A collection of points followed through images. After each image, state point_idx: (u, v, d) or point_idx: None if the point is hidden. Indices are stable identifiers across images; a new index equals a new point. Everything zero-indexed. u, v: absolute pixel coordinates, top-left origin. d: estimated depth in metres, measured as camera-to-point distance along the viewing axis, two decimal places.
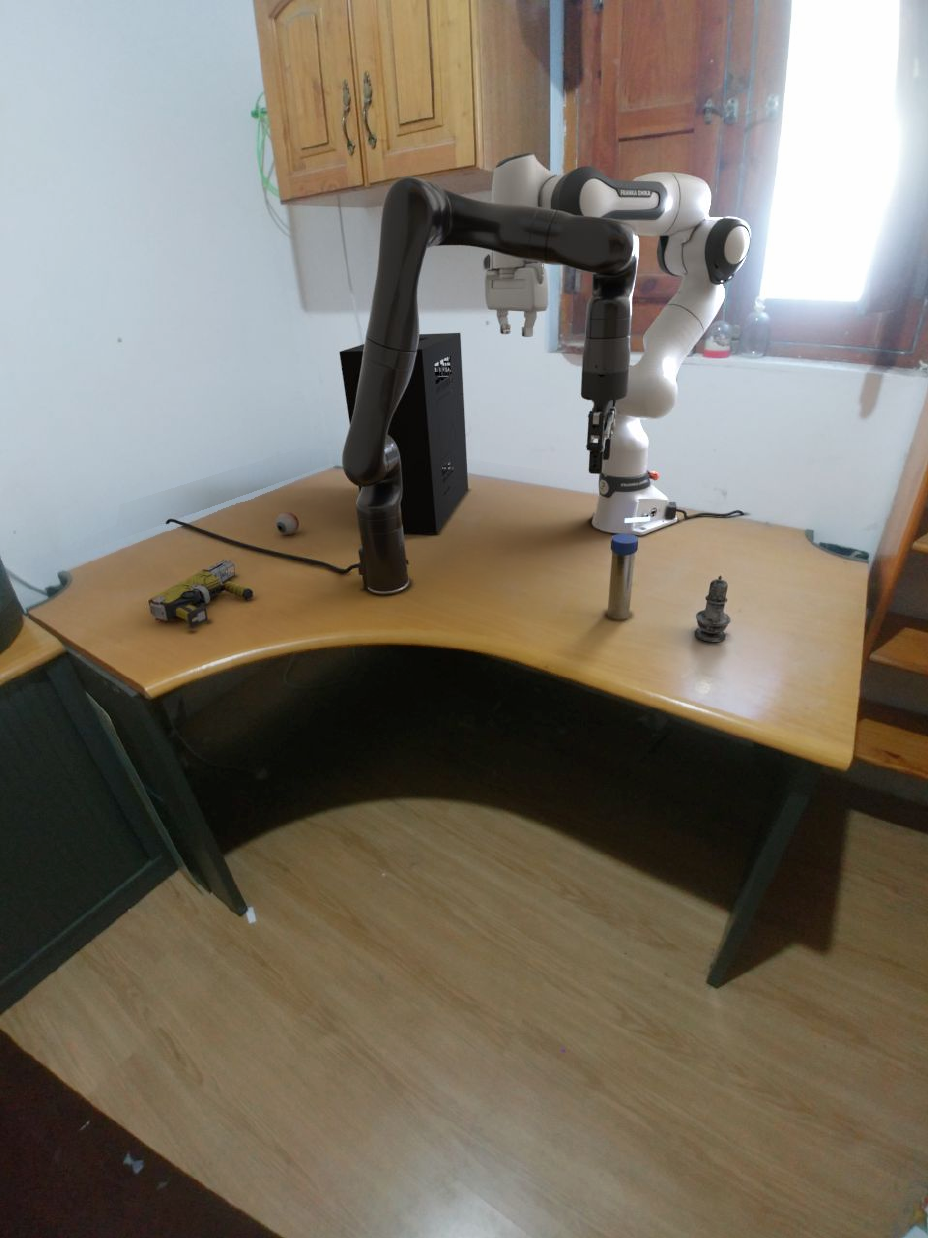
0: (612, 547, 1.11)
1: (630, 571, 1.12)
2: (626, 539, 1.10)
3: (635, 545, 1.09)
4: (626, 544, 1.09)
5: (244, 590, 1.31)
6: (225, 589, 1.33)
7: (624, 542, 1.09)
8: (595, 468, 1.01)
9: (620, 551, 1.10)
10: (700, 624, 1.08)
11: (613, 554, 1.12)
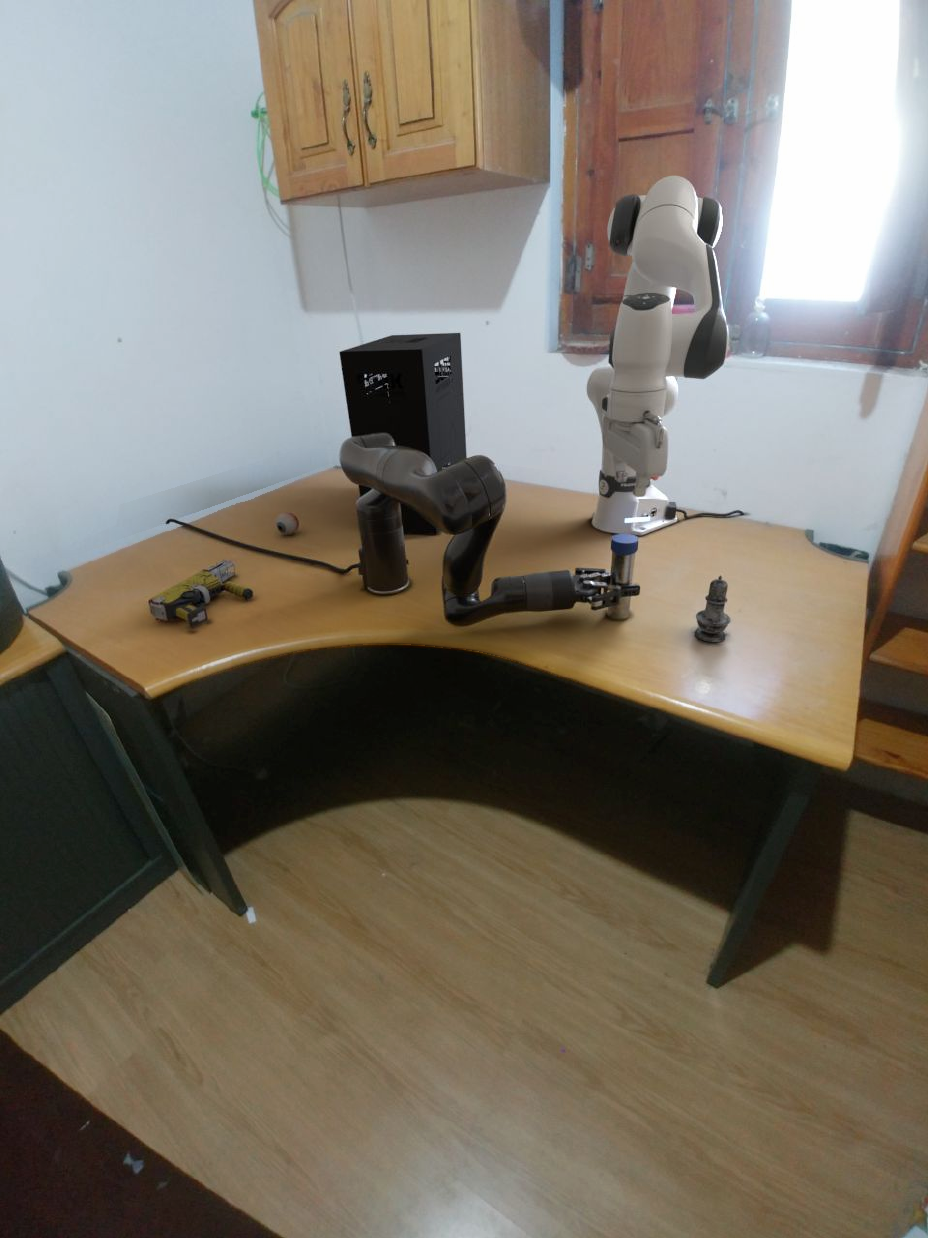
0: (612, 547, 1.11)
1: (630, 571, 1.12)
2: (626, 539, 1.10)
3: (635, 545, 1.09)
4: (626, 544, 1.09)
5: (244, 590, 1.31)
6: (225, 589, 1.33)
7: (624, 542, 1.09)
8: None
9: (620, 551, 1.10)
10: (700, 624, 1.08)
11: (613, 554, 1.12)
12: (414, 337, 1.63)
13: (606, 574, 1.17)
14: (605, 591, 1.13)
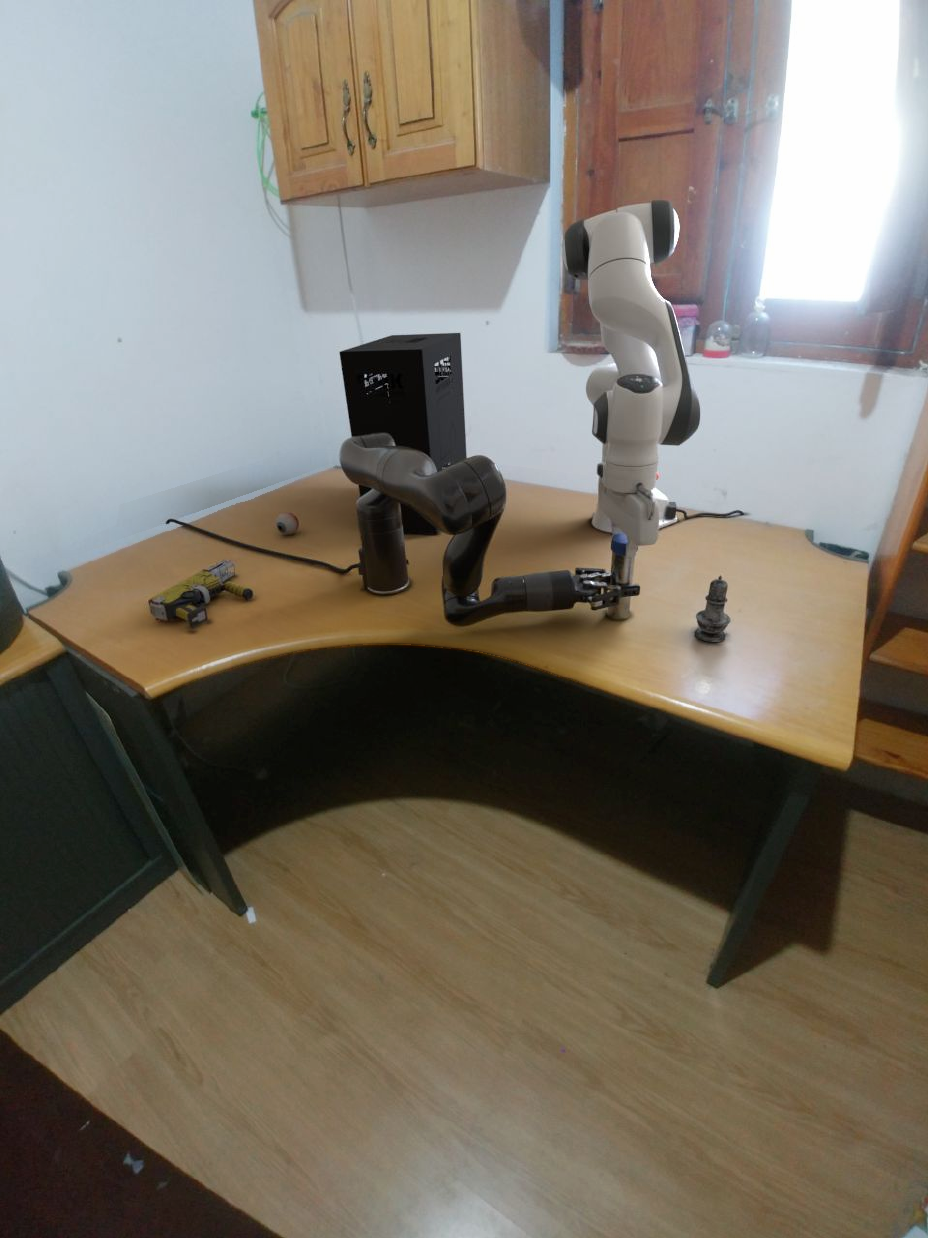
0: (612, 547, 1.11)
1: (630, 571, 1.12)
2: (626, 539, 1.10)
3: None
4: (626, 544, 1.09)
5: (244, 590, 1.31)
6: (225, 589, 1.33)
7: (624, 542, 1.09)
8: None
9: (620, 551, 1.10)
10: (700, 624, 1.08)
11: (613, 554, 1.12)
12: (414, 337, 1.63)
13: (606, 574, 1.17)
14: (605, 591, 1.13)
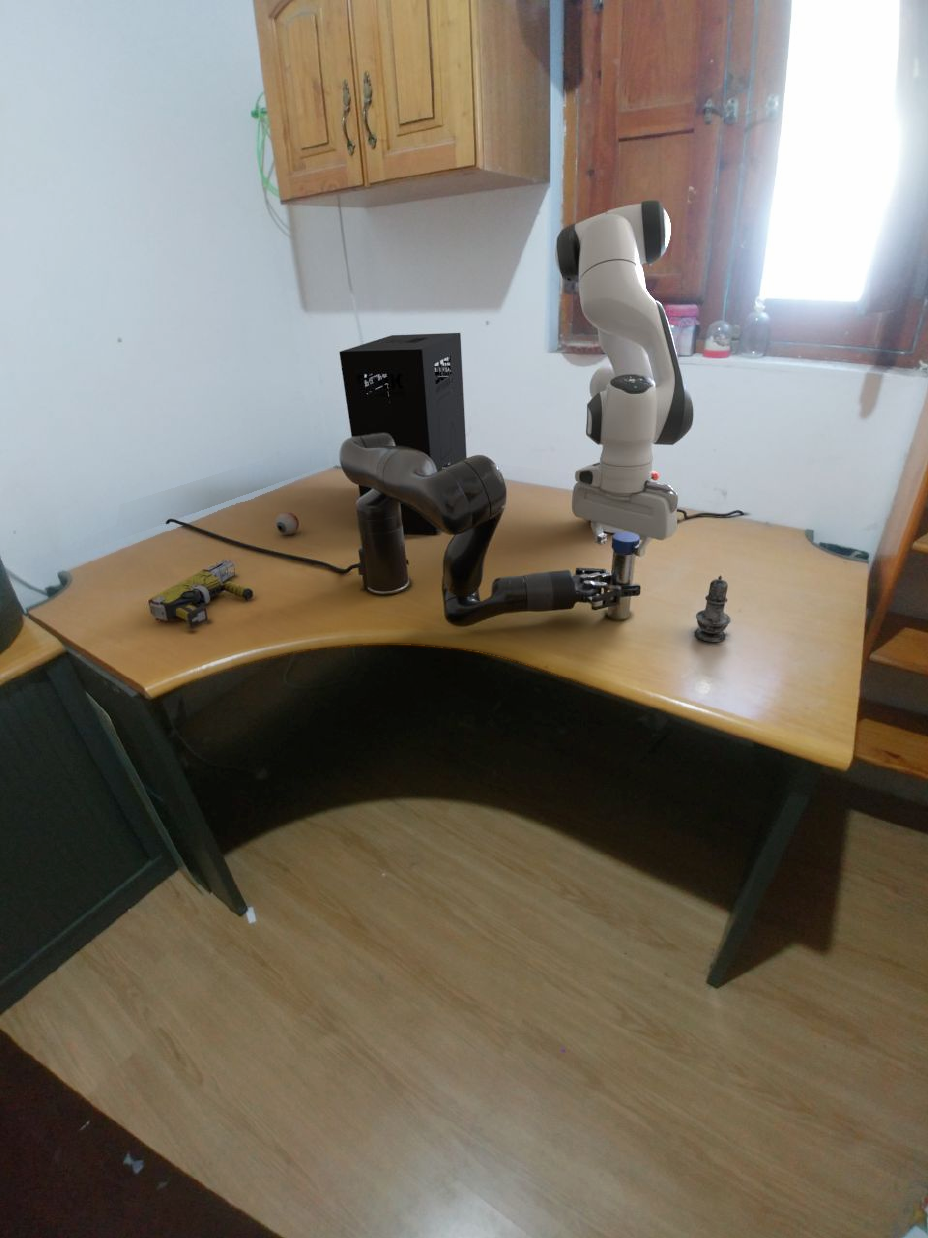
0: (630, 549, 1.09)
1: (631, 571, 1.12)
2: (629, 536, 1.10)
3: None
4: None
5: (244, 590, 1.31)
6: (225, 589, 1.33)
7: (636, 538, 1.10)
8: None
9: None
10: (700, 624, 1.08)
11: (614, 554, 1.12)
12: (414, 337, 1.63)
13: (606, 574, 1.17)
14: (605, 591, 1.12)
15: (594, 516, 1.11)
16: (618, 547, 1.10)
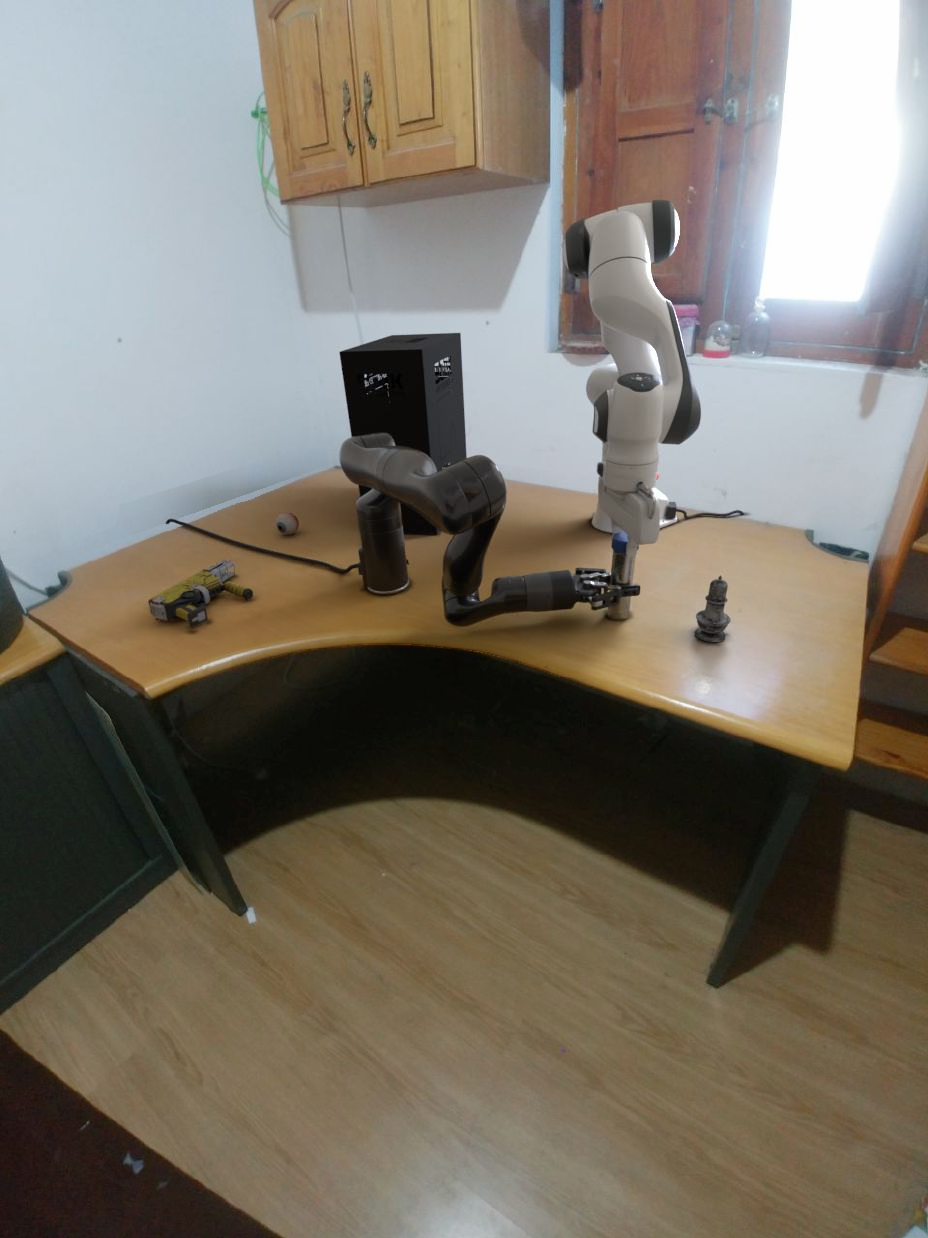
0: None
1: (630, 571, 1.12)
2: None
3: None
4: None
5: (244, 590, 1.31)
6: (225, 589, 1.33)
7: None
8: None
9: None
10: (700, 624, 1.08)
11: (614, 554, 1.12)
12: (414, 337, 1.63)
13: (606, 574, 1.17)
14: (605, 591, 1.12)
15: (607, 510, 1.12)
16: (618, 547, 1.10)
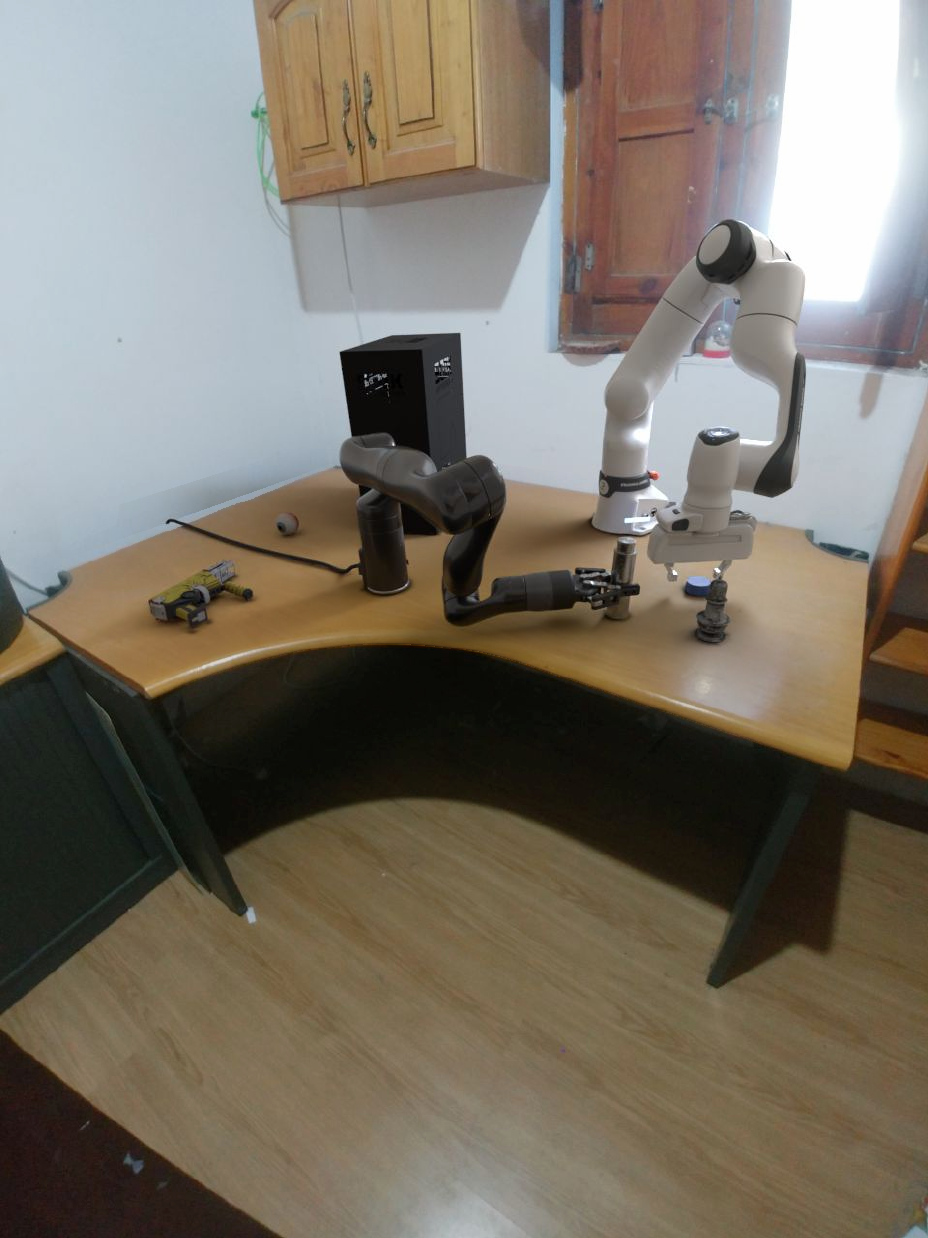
0: None
1: (631, 571, 1.12)
2: (698, 579, 1.25)
3: None
4: None
5: (244, 590, 1.31)
6: (225, 589, 1.33)
7: (701, 577, 1.26)
8: None
9: None
10: (700, 624, 1.08)
11: (614, 553, 1.12)
12: (414, 337, 1.63)
13: (606, 574, 1.17)
14: (605, 591, 1.13)
15: (679, 558, 1.19)
16: (708, 590, 1.23)
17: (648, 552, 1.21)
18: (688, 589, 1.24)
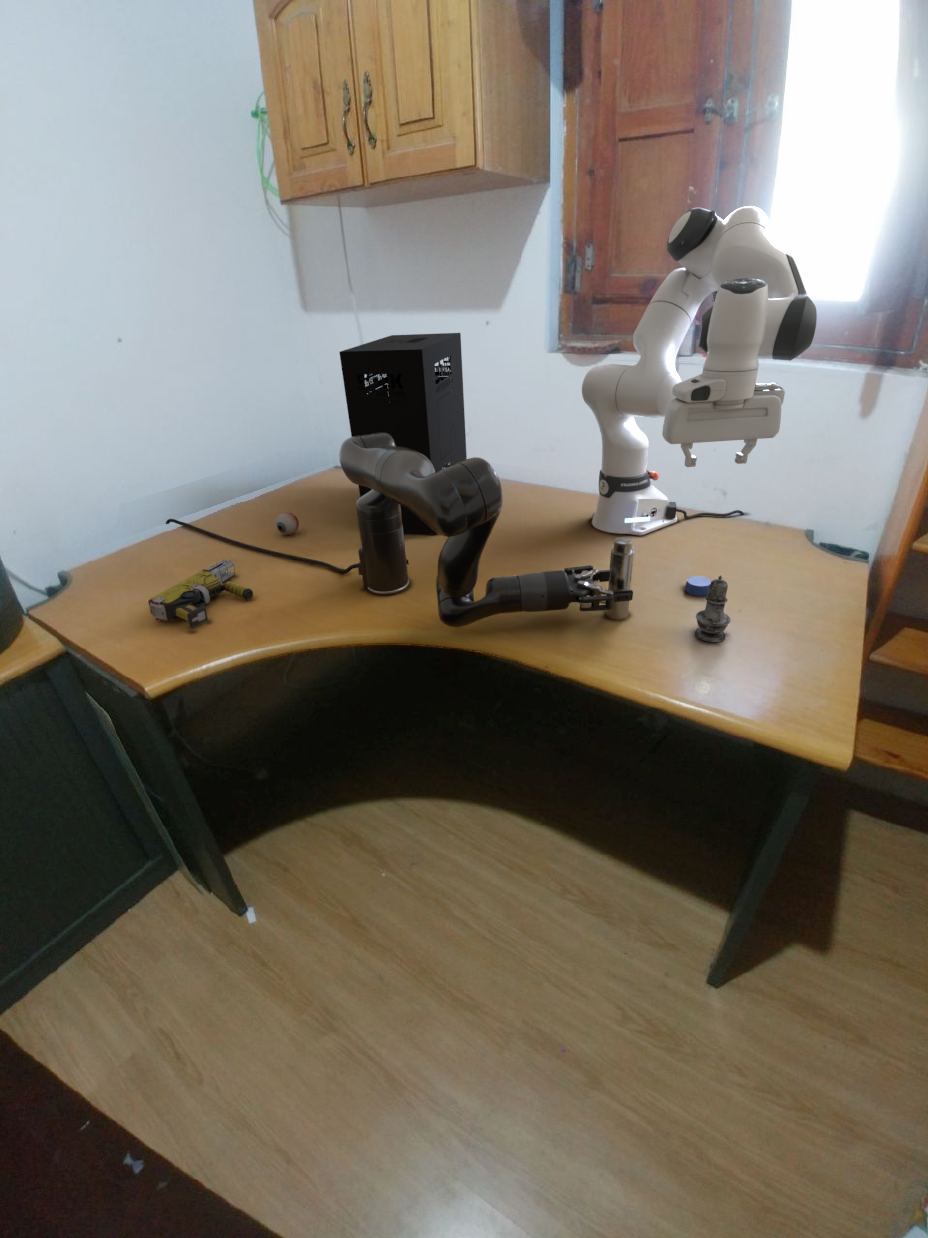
0: None
1: (629, 571, 1.12)
2: (698, 579, 1.25)
3: None
4: None
5: (244, 590, 1.31)
6: (225, 589, 1.33)
7: (701, 577, 1.26)
8: None
9: None
10: (700, 624, 1.08)
11: (612, 554, 1.12)
12: (414, 337, 1.63)
13: (594, 571, 1.18)
14: (597, 594, 1.12)
15: (698, 436, 1.07)
16: (708, 590, 1.23)
17: (664, 432, 1.09)
18: (688, 589, 1.24)
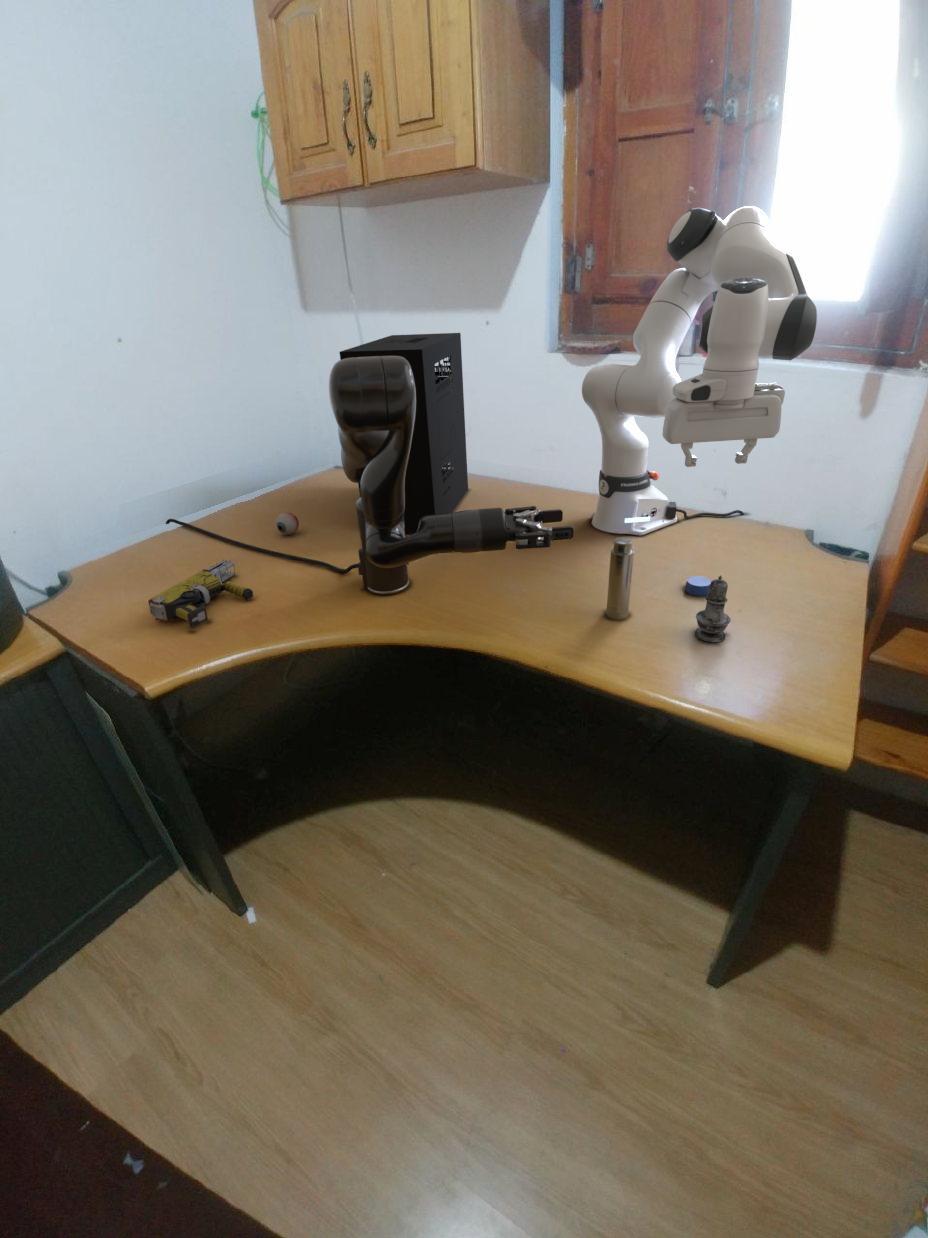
0: None
1: (629, 571, 1.12)
2: (698, 579, 1.25)
3: None
4: None
5: (244, 590, 1.31)
6: (225, 589, 1.33)
7: (701, 577, 1.26)
8: None
9: None
10: (700, 624, 1.08)
11: (612, 554, 1.12)
12: (414, 337, 1.63)
13: (536, 511, 1.11)
14: (535, 532, 1.04)
15: (698, 436, 1.07)
16: (708, 590, 1.23)
17: (664, 432, 1.09)
18: (688, 589, 1.24)
